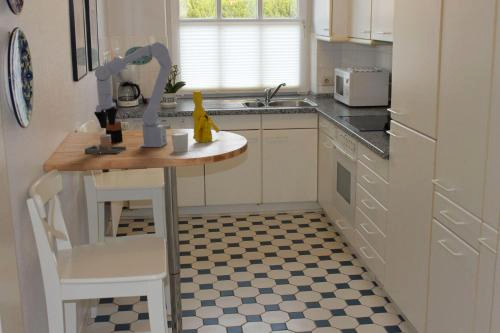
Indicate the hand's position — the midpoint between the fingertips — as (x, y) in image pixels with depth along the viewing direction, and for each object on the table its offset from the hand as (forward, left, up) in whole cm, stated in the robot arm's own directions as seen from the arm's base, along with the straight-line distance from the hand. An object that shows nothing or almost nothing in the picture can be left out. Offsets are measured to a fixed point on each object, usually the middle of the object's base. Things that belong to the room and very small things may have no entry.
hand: (107, 126), depth 269 cm
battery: (+5, -14, -10) cm, 18 cm away
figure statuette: (-37, -16, -10) cm, 42 cm away
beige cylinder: (-34, +4, -10) cm, 35 cm away
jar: (-2, +8, -9) cm, 12 cm away
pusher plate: (0, +8, -9) cm, 12 cm away
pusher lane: (-3, +8, -9) cm, 12 cm away
